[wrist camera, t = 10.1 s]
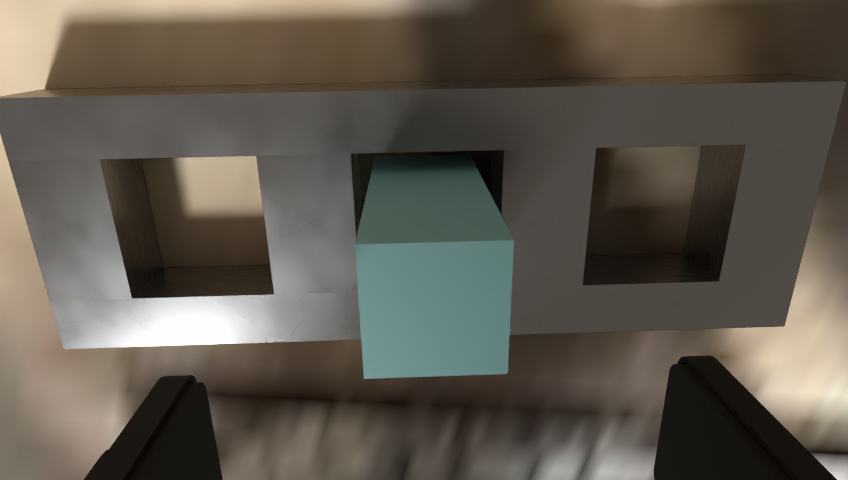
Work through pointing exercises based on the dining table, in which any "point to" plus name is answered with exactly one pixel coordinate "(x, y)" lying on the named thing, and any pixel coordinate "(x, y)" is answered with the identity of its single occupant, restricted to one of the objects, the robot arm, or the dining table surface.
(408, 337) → the square block
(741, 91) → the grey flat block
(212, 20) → the dining table surface
